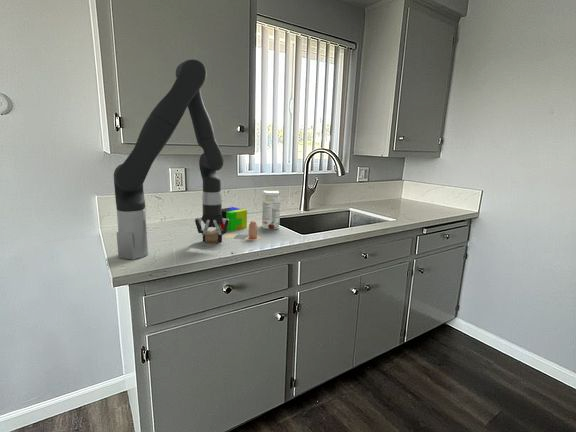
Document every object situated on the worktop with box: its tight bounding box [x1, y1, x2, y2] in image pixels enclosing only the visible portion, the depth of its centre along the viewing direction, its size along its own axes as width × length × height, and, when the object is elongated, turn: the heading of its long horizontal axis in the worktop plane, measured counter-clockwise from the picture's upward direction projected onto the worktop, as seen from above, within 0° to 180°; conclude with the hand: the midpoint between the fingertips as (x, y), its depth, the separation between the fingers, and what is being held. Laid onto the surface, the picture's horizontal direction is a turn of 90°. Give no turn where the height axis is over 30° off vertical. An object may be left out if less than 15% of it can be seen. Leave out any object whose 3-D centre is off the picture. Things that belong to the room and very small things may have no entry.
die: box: [204, 230, 219, 244], centre depth 135 cm, size 5×5×5 cm
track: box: [222, 232, 262, 242], centre depth 144 cm, size 7×22×1 cm, turn 78°
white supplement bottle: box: [261, 190, 281, 230], centre depth 160 cm, size 8×9×19 cm
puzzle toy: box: [220, 206, 248, 232], centre depth 158 cm, size 10×10×10 cm
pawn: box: [248, 220, 258, 239], centre depth 141 cm, size 4×4×8 cm
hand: (212, 242), depth 135 cm, fingers closed on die, 5 cm apart
